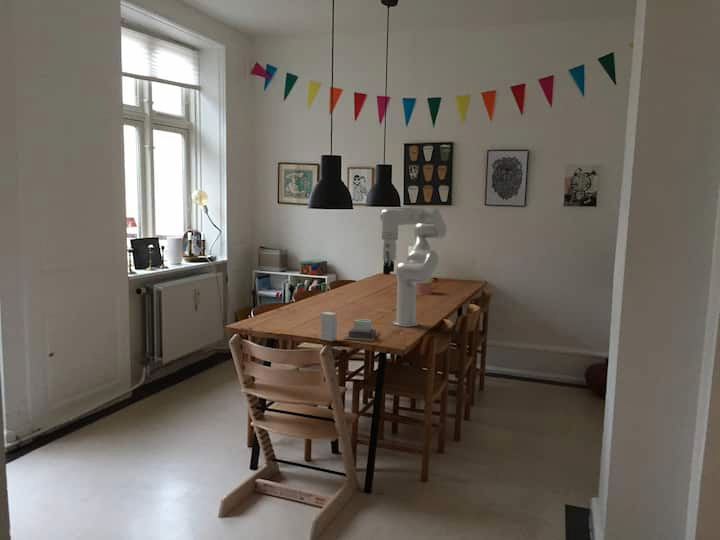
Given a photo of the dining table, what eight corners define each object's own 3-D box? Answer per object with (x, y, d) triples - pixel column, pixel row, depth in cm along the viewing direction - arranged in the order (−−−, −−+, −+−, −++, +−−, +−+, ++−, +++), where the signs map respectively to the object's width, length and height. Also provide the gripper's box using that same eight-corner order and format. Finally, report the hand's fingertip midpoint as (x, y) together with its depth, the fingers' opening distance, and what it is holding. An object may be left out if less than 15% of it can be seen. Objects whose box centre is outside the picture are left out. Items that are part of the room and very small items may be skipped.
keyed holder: (352, 331, 270) (352, 325, 270) (379, 333, 267) (379, 327, 267) (343, 339, 255) (344, 333, 254) (372, 342, 252) (372, 335, 251)
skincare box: (337, 339, 254) (337, 313, 253) (331, 341, 251) (331, 314, 249) (326, 337, 258) (326, 311, 256) (320, 339, 254) (320, 312, 252)
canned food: (434, 293, 382) (435, 275, 380) (423, 295, 374) (424, 276, 372) (422, 291, 390) (422, 273, 388) (410, 292, 382) (411, 274, 380)
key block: (370, 334, 262) (371, 319, 261) (368, 337, 258) (369, 321, 257) (355, 333, 264) (356, 318, 263) (353, 335, 259) (354, 320, 258)
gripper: (394, 238, 255) (393, 276, 257) (400, 235, 272) (399, 271, 274) (378, 237, 257) (376, 275, 259) (385, 234, 274) (384, 270, 276)
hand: (388, 273), depth 267 cm, fingers open, 9 cm apart
